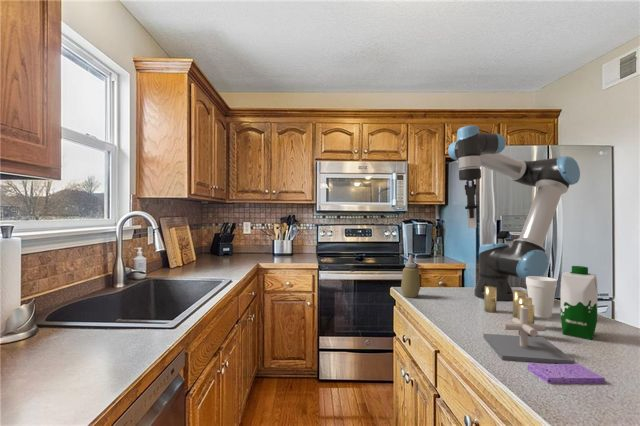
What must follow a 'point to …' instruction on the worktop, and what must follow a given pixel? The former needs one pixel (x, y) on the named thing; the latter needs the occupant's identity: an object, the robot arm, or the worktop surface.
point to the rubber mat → (526, 349)
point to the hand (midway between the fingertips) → (472, 226)
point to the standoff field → (518, 302)
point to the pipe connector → (524, 327)
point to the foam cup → (541, 294)
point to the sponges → (565, 373)
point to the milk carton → (579, 303)
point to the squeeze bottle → (410, 279)
